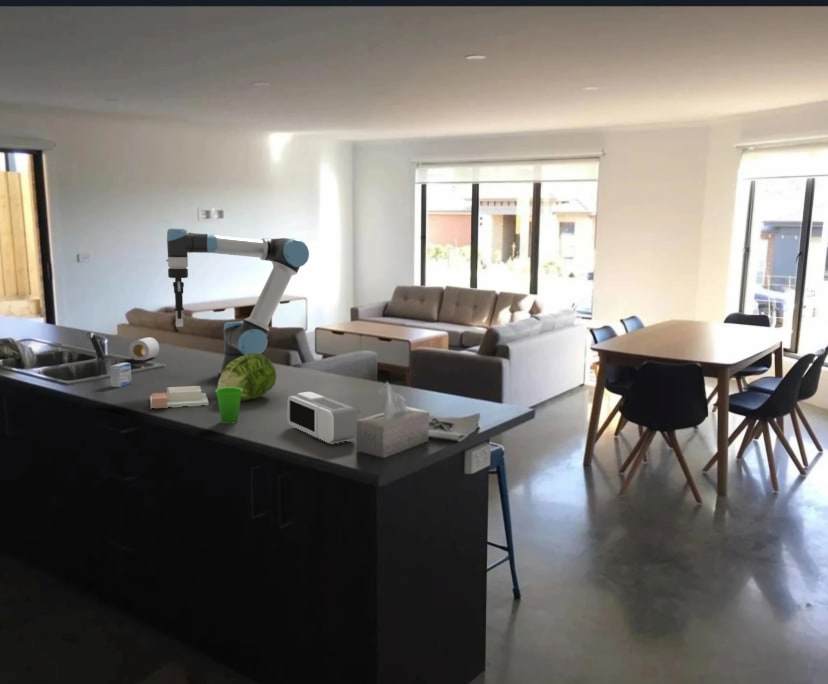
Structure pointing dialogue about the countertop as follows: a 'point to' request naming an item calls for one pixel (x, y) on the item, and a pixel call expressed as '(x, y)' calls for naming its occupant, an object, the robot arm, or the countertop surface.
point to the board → (184, 402)
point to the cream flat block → (184, 393)
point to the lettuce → (249, 375)
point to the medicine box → (120, 374)
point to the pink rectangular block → (159, 399)
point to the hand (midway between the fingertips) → (179, 326)
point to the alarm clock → (321, 417)
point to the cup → (229, 403)
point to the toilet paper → (139, 345)
